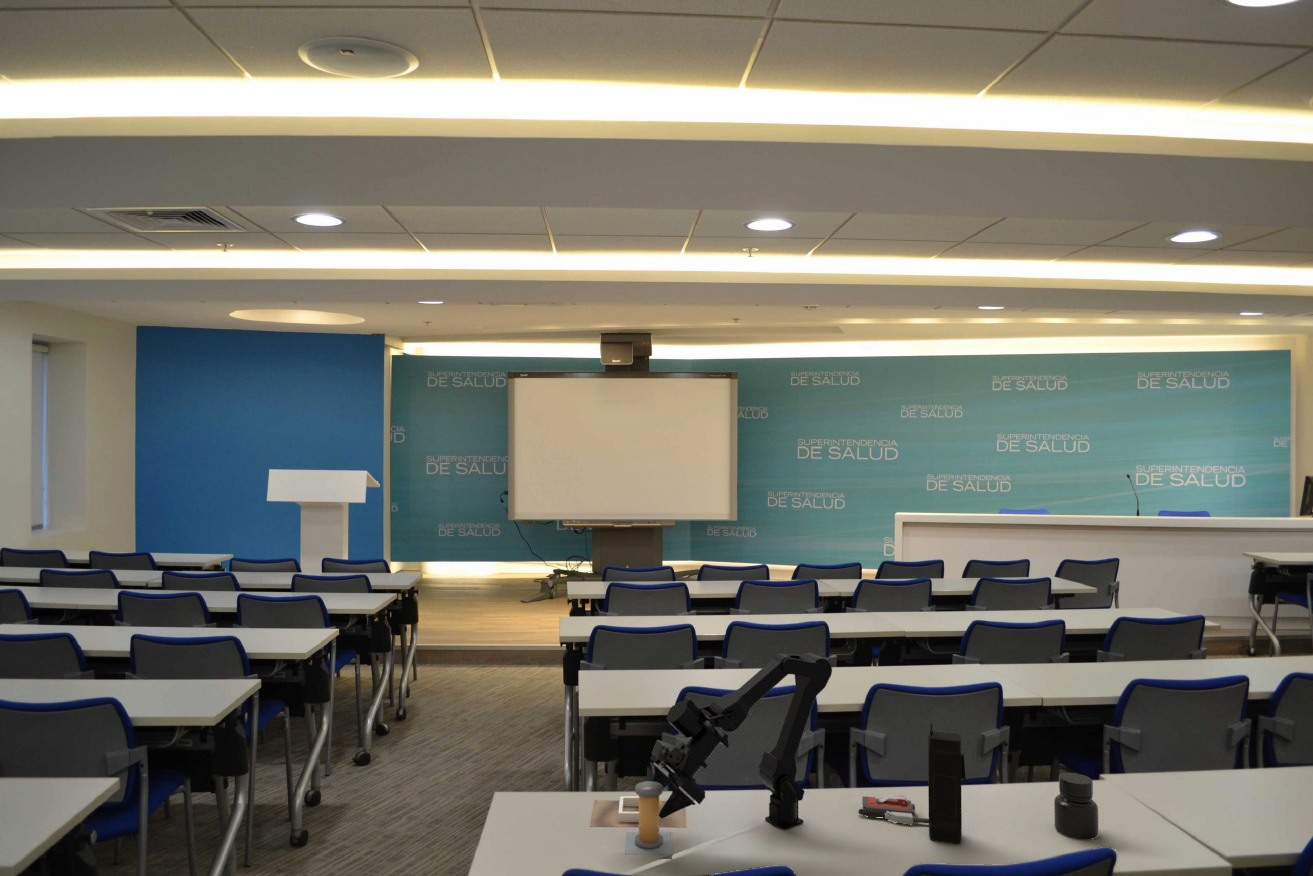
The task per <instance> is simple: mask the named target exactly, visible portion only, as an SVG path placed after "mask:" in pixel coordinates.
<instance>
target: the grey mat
mask: <svg viewBox="0 0 1313 876" xmlns="http://www.w3.org/2000/svg"><path fill="white" fill-rule="evenodd" d="M625 833H626V834H625V846H624V855H667V856H664V857H661V858H659V859H660V860H672V859H673V849H672V848H673V847H672V846H673V845H672V832H671V831H669V832H668V831H663V832H662V831H659V834H660V835H662V837H663V844H662V846H660V847H659V848H656V849H642V848H639V847H638V846H636V844H635V837H636V835H638V834H639V831H626V832H625Z"/></svg>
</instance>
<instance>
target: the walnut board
mask: <svg viewBox="0 0 1313 876" xmlns="http://www.w3.org/2000/svg"><path fill="white" fill-rule="evenodd" d="M666 802H667V800H659V813H660V811H661V809H662V808H663V806H664V805H665V803H666ZM619 803H620V800H610V799H609V800H599V799H598V800H594V801H593V805H592V806H593V807H592V813H591V817H590V822H589V823H590V824H589V828H639V822H618V812H619ZM623 812H639V806H623ZM686 814H687V813H686V807H685V808H683V809H681V810H678V811H676V812H674V813H672V814H670V815H668V816H666V817H664V818H660V817H659V828H687V816H686Z"/></svg>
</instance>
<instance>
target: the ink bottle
mask: <svg viewBox="0 0 1313 876" xmlns="http://www.w3.org/2000/svg"><path fill="white" fill-rule="evenodd" d="M1093 782H1094V781H1093V779H1092V778H1090V777H1089V776H1087V775H1084V774H1080V773H1076V772H1075V773H1074V772H1062V773H1060V774H1058V789H1059V794H1057V795H1056V796H1055V797H1054V802H1053V804H1054V805H1053V806H1054V827H1055V829H1056V830H1057V831H1058V832H1059V833H1060V834H1062V835H1064V836H1067V837H1070V838H1073V839H1074V838H1075V839H1079V840H1093V839H1092V838H1094V839H1096V838H1097V837H1098V836H1099V807H1098V804H1097V803H1096V802H1095V801H1094V800H1093V795H1094V790H1093V788H1094V786H1093V785H1094V783H1093ZM1097 835H1098V836H1097ZM1096 836H1097V837H1096ZM1095 837H1096V838H1095Z"/></svg>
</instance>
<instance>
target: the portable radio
mask: <svg viewBox="0 0 1313 876" xmlns="http://www.w3.org/2000/svg"><path fill="white" fill-rule="evenodd" d="M929 725H930V730H928V733H927V750H928V751H927V753H928V755H927V759H928V760H927V761H928V762H927V765H928V767H927V769H928V771H927V772H928V774H927V776H928V777H927V778H928V781H927V783H928V784H927V785H928V788H927V789H928V792H927V793H928V795H927V796H928V819H929V823H928V837H929V839H930V840H931V841H936V842H941V843H942V842H943V843H950V844H956V845H959V844H961V843H962V835H963V834H962V832H963V831H962V828H963V827H962V822H963V821H962V817H963V815H962V814H963V813H962V811H963V810H962V780H964V782H966V781H967V779H966V764H965V753H964V752H963V753H962V738H961V734H959V733H954V732H952V733H951V732H943V731H936V730H935V731H934V730H933V726H934V724H933V723H929Z"/></svg>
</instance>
